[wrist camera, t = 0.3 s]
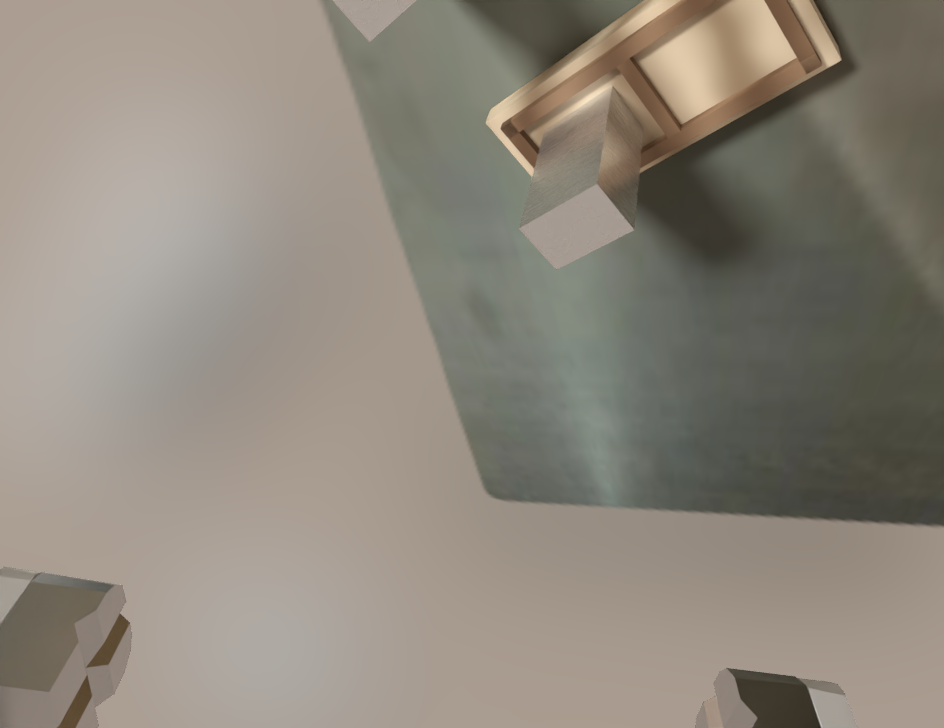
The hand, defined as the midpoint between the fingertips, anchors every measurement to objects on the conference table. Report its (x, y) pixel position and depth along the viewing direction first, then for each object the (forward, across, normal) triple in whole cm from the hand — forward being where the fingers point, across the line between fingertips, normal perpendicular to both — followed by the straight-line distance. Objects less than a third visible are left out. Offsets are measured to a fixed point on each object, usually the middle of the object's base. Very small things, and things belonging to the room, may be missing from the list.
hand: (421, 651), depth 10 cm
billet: (+50, -8, +7) cm, 51 cm away
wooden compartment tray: (+51, -11, +3) cm, 52 cm away
